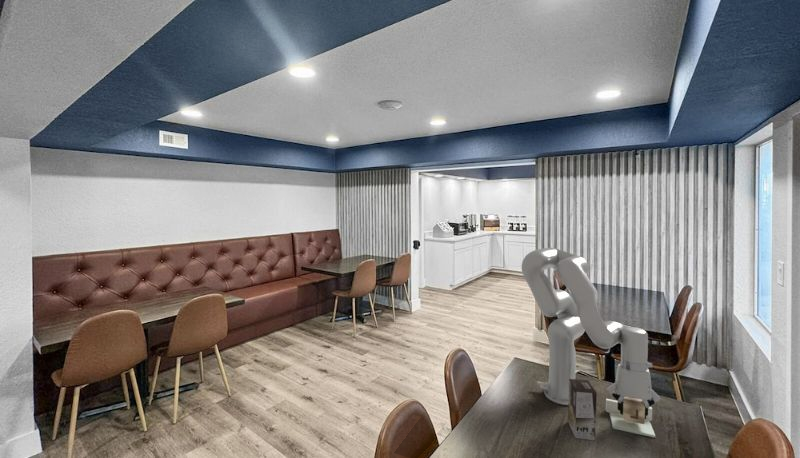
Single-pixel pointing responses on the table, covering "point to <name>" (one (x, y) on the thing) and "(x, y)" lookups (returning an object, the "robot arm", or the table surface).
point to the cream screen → (613, 407)
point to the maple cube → (633, 410)
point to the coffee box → (582, 409)
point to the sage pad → (631, 425)
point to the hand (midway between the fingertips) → (632, 414)
